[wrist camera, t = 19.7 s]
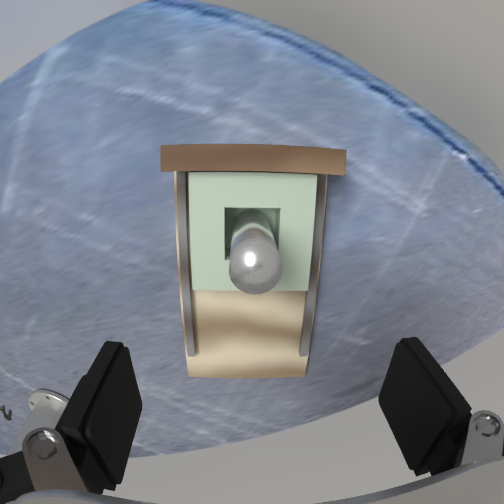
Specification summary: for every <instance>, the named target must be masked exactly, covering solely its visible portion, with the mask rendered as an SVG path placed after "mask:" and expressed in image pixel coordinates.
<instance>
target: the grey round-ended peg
mask: <svg viewBox="0 0 504 504" xmlns="http://www.w3.org/2000/svg"><path fill="white" fill-rule="evenodd" d="M229 276H230V279H231V281H232V283H233V284H234V285H235V286H236V287H237V288H238V289H239V290H241V291H242V292H245V293H248V294H263V293H266V292H268V291H270V290H271V289H273V288H274V287H275V286H276V285H277V284H278V282H279V281H280V279H281V276H282V263H281V260H280V256H279V253H278V250H277V247H276V243H275V240H274V237H273V234H272V230H271V227H270V224H269V221H268V218H267V216H266V215H265V214H264V213H263V212H262V211H260V210H258V209H254V208H249V209H245V210H243V211H241V212H240V213H238V215H237V216H236V217H235V219H234V223H233V232H232V242H231V251H230V261H229Z"/></svg>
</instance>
